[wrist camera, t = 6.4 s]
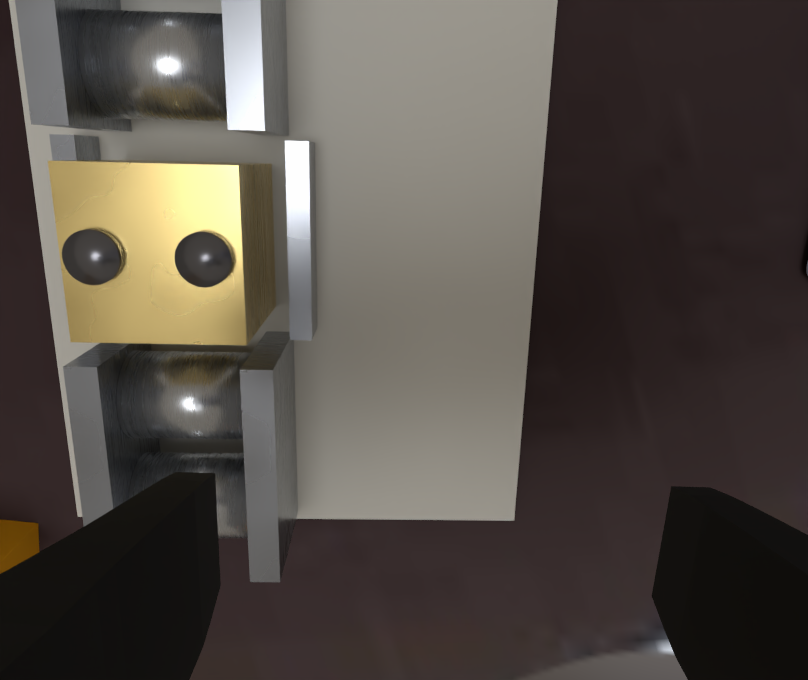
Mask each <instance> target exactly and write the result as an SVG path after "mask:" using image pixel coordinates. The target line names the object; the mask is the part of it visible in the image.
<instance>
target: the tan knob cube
mask: <svg viewBox="0 0 808 680" xmlns="http://www.w3.org/2000/svg"><path fill="white" fill-rule="evenodd" d="M48 168H49V176H50V183H51V191H52V199H53V207H54V215H55V223H56V231H57V239H58V247H59V255H60V263H61V271H62V278H63V286H64V294H65V302H66V310H67V318H68V326H69V334H70V342H81V343H139V344H198V345H247V344H248V343H249V342H250V340H251V339H252V338H253V336H254V335H255V334H256V332H257V331H258V330H259V328H260V327H261V326H262V324H263V323H264V322H265V320H266V319H267V318H268V316H269V315H270V314H271V312H272V311H273V310H274V308H275V307H276V284H275V253H274V221H273V190H272V164H269V163H230V162H191V161H152V160H53V161H48Z"/></svg>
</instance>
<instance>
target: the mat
mask: <svg viewBox="0 0 808 680" xmlns="http://www.w3.org/2000/svg"><path fill="white" fill-rule="evenodd" d="M120 3H121V10H131V11H161V12H192V13H222V3H221V0H120ZM9 5H10V12H11V20H12V27H13V35H14V42H15V50H16V57H17V65H18V72H19V80H20V87H21V95H22V102H23V110H24V117H25V125H26V132H27V140H28V147H29V155H30V162H31V170H32V177H33V185H34V192H35V200H36V207H37V215H38V222H39V230H40V237H41V245H42V252H43V260H44V267H45V275H46V282H47V290H48V297H49V305H50V312H51V320H52V327H53V335H54V342H55V350H56V357H57V365H58V372H59V380H60V387H61V395H62V402H63V410H64V417H65V425H66V432H67V440H68V447H69V455H70V462H71V470H72V477H73V484H74V492H75V499H76V507H77V514H78V517H83V516H82V509H81V501H80V493H79V486H78V478H77V471H76V463H75V455H74V448H73V440H72V432H71V425H70V417H69V410H68V402H67V394H66V387H65V379H64V371H63V366H65V365H66V364H68V363H70V362H71V361H73V360H74V359H76V358H77V357H79V356H80V355H82V354H83V353H85V352H87V351H88V350H90V349H91V348H93V347H94V346H96V345H97V344H99V343H81V342H70V334H69V326H68V318H67V310H66V302H65V294H64V286H63V278H62V271H61V263H60V255H59V247H58V239H57V231H56V223H55V215H54V207H53V199H52V191H51V183H50V176H49V168H48V161H52V153H51V145H50V137H49V134H60V135H83V136H97V137H99V145H100V154H101V160H152V161H191V162H230V163H269V164H272V190H273V221H274V253H275V284H276V307H275V308H274V310H273V311H272V312H271V314H270V315H269V316H268V318H267V319H266V320H265V322H264V323H263V324H262V326H261V327H260V328H259V330H258V331H257V332H256V334H255V335H254V336H253V338H252V339H251V340H250V342H249V343H248V344H247V345H198V344H151V350H152V351H189V352H248V353H252V351H253V350H254V348H255V347H256V345H257V344H258V343H259V341H260V340H261V338H262V337H263V335H264V334H265V333H266V331H281V332H290V324H289V286H288V247H287V208H286V169H285V141H310V142H315V178H316V254H317V330H316V332H315V334H314V337H313V339H312V340H294V365H295V406H296V448H297V490H298V514H297V518H296V519H391V520H503V521H514V516H515V504H516V492H517V480H518V468H519V456H520V444H521V432H522V420H523V408H524V396H525V384H526V372H527V360H528V348H529V336H530V324H531V312H532V300H533V288H534V276H535V264H536V252H537V240H538V228H539V216H540V204H541V192H542V180H543V168H544V156H545V144H546V132H547V120H548V108H549V96H550V84H551V72H552V60H553V48H554V36H555V24H556V12H557V0H286V31H287V73H288V115H289V136H273V135H256V134H250V133H244V132H238V131H232V130H228V125H227V122H213V121H177V120H141V119H131V126H132V132H126V131H98V130H87V129H76V128H65V127H54V126H43V125H32V124H31V120H30V112H29V104H28V97H27V89H26V82H25V74H24V66H23V59H22V51H21V43H20V36H19V28H18V20H17V13H16V5H15V0H9ZM159 439H160V450H161V452H178V453H244V448H243V439H184V438H159Z"/></svg>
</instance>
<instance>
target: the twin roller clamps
mask: <svg viewBox="0 0 808 680" xmlns="http://www.w3.org/2000/svg"><path fill="white" fill-rule="evenodd" d="M221 3H222V13H192V12H161V11H131V10H121V3H120V0H15V5H16V13H17V20H18V28H19V36H20V43H21V51H22V59H23V66H24V74H25V82H26V89H27V97H28V104H29V112H30V120H31V124H32V125H43V126H54V127H65V128H76V129H87V130H98V131H126V132H132V126H131V119H141V120H177V121H213V122H227V125H228V130H232V131H238V132H244V133H250V134H256V135H273V136H289V115H288V73H287V31H286V0H221ZM49 137H50V145H51V153H52V161H53V160H101V154H100V145H99V137H97V136H83V135H60V134H49ZM285 169H286V208H287V247H288V286H289V324H290V332H281V331H266V333H265V334H264V335H263V337H262V338H261V340H260V341H259V343H258V344H257V345H256V347H255V348H254V350H253V351H252V353H248V352H189V351H152V350H151V344H139V343H99V344H97V345H96V346H94V347H93V348H91V349H90V350H88V351H87V352H85V353H83V354H82V355H80V356H79V357H77V358H76V359H74V360H73V361H71V362H70V363H68V364H66V365H65V366H63V371H64V379H65V387H66V394H67V402H68V410H69V417H70V425H71V432H72V440H73V448H74V455H75V463H76V471H77V478H78V486H79V493H80V501H81V509H82V516H83V524H84V526H86V525H88V524H89V523H91V522H92V521H94V520H96V519H97V518H99V517H101V516H102V515H104V514H106V513H107V512H109V511H110V510H112V509H114V508H115V507H117V506H119V505H120V504H122V503H123V502H125V501H127V500H128V499H130V498H131V497H133V496H135V495H136V494H138V493H140V492H141V491H143V490H144V489H146V488H148V487H149V486H151V485H153V484H154V483H156V482H158V481H159V480H161V479H163V478H165V477H167V476H169V475H171V474H173V473H175V472H196V473H215V480H216V501H217V523H218V538H248V549H249V569H250V582H280V581H281V577H282V573H283V569H284V565H285V561H286V557H287V553H288V549H289V545H290V541H291V538H292V534H293V530H294V526H295V522H296V518H297V514H298V490H297V448H296V406H295V365H294V340H312V339H313V337H314V334H315V332H316V330H317V254H316V178H315V142H310V141H285ZM159 438H184V439H243V448H244V453H178V452H161V450H160V439H159Z"/></svg>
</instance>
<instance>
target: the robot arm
mask: <svg viewBox="0 0 808 680" xmlns="http://www.w3.org/2000/svg"><path fill="white" fill-rule="evenodd" d="M807 275H808V262H807ZM219 589H220V566H219V544H218V523H217V501H216V480H215V473H196V472H175V473H173V474H171V475H169V476H167V477H165V478H163V479H161V480H159V481H158V482H156V483H154V484H153V485H151V486H149V487H148V488H146V489H144V490H143V491H141V492H140V493H138V494H136V495H135V496H133V497H131V498H130V499H128V500H127V501H125V502H123V503H122V504H120V505H119V506H117V507H115V508H114V509H112V510H110V511H109V512H107V513H106V514H104V515H102V516H101V517H99V518H97V519H96V520H94V521H92V522H91V523H89V524H88V525H86V526H84V527H83V528H81V529H79V530H78V531H76V532H74V533H73V534H71V535H69V536H67V537H66V538H64V539H62V540H60V541H58V542H57V543H55V544H53V545H51V546H50V547H48V548H46V549H44V550H42V551H41V552H39V553H37V554H35V555H33V556H32V557H30V558H28V559H26V560H24V561H23V562H21V563H19V564H17V565H16V566H14V567H12V568H10V569H8V570H7V571H5V572H3V573H1V574H0V680H189V679H190V676H191V674H192V672H193V669H194V667H195V665H196V662H197V660H198V657H199V655H200V652H201V650H202V648H203V645H204V642H205V638H206V635H207V631H208V628H209V625H210V621H211V618H212V614H213V611H214V607H215V603H216V600H217V596H218V592H219ZM652 598H653V600H654V603H655V606H656V609H657V611H658V614H659V617H660V619H661V622H662V625H663V627H664V630H665V632H666V635H667V637H668V639H669V642H670V644H671V647H672V649H673V652H674V654H675V656H676V658H677V660H678V662H679V664H680V666H681V668H682V669H683V671H684V673H685V675H686V677H687V679H688V680H808V535H807V534H805V533H803V532H801V531H799V530H797V529H795V528H793V527H791V526H789V525H787V524H785V523H784V522H782V521H780V520H778V519H776V518H774V517H772V516H770V515H768V514H766V513H764V512H762V511H760V510H758V509H756V508H754V507H752V506H750V505H748V504H746V503H744V502H742V501H740V500H738V499H736V498H734V497H732V496H729V495H727V494H725V493H722V492H720V491H717V490H715V489H712V488H706V487H672V486H671V492H670V497H669V503H668V508H667V514H666V520H665V525H664V531H663V536H662V542H661V548H660V553H659V559H658V564H657V570H656V575H655V581H654V587H653V592H652Z"/></svg>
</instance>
